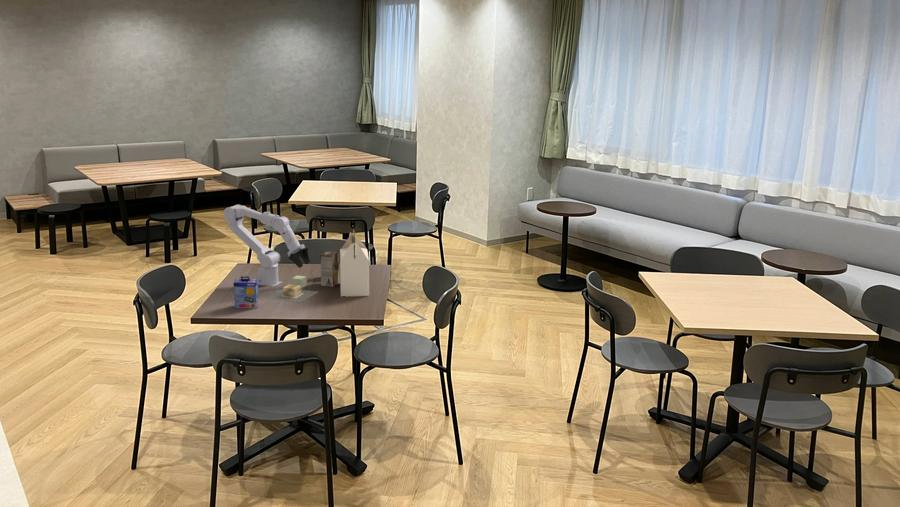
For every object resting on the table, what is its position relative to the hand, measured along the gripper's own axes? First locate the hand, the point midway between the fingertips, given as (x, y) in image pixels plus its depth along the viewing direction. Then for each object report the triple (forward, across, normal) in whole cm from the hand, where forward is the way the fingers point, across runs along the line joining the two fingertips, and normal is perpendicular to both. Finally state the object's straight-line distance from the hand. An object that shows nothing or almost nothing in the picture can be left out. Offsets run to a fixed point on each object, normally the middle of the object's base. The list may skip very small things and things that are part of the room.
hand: (304, 265), depth 356 cm
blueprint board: (+10, -2, +15) cm, 18 cm away
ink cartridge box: (+4, -4, +38) cm, 38 cm away
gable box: (+22, -10, -12) cm, 27 cm away
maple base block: (+9, -3, +15) cm, 18 cm away
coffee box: (+15, +3, -9) cm, 17 cm away
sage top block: (+8, +7, +4) cm, 12 cm away
